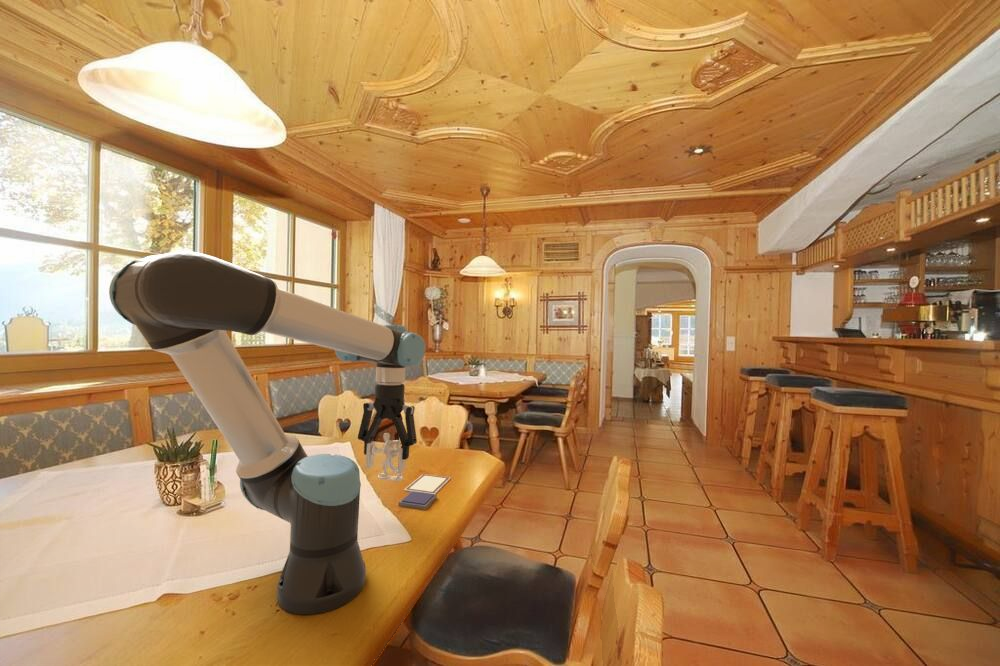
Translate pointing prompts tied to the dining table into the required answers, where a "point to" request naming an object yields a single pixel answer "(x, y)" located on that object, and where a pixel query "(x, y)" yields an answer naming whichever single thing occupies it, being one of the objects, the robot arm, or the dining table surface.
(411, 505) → the ink pad
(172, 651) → the dining table surface
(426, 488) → the print sheet
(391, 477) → the figurine
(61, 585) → the dining table surface
